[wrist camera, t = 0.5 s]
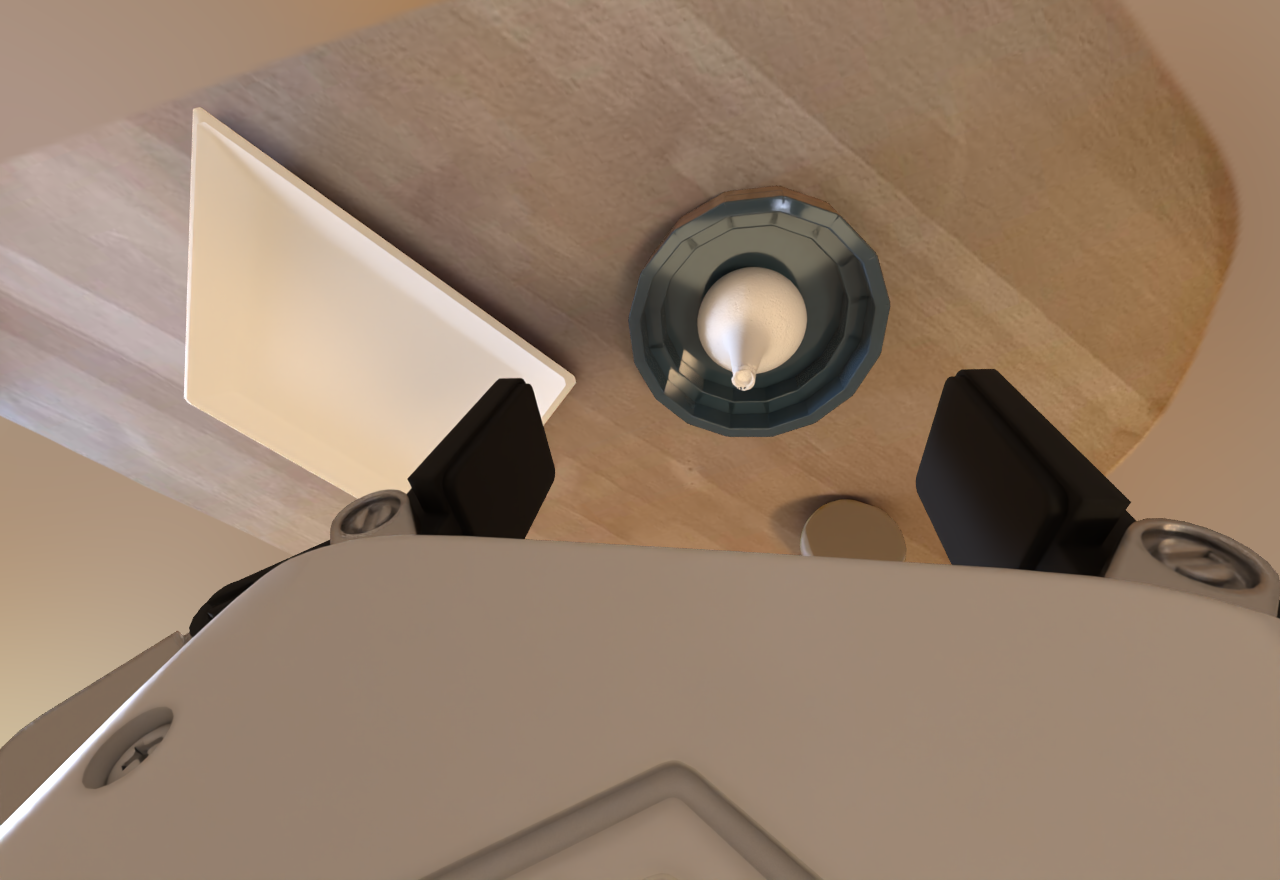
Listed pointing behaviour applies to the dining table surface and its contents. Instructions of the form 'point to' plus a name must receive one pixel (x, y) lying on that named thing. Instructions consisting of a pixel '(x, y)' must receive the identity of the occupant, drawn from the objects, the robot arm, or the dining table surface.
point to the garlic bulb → (751, 322)
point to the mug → (852, 533)
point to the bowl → (800, 251)
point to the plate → (329, 327)
